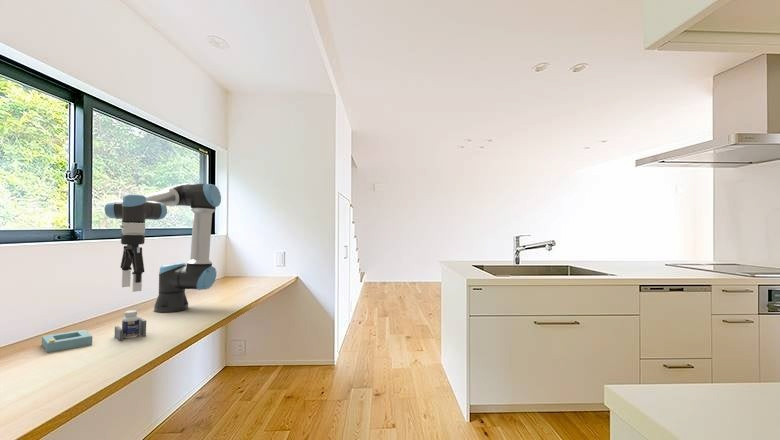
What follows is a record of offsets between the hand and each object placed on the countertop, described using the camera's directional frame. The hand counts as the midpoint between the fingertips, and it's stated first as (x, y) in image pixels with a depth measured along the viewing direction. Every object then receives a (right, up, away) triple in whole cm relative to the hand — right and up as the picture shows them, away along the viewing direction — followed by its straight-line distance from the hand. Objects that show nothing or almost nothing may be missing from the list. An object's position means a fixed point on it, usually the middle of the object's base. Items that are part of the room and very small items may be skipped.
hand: (131, 289), depth 145 cm
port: (-16, -18, -11) cm, 26 cm away
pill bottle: (0, -19, 0) cm, 19 cm away
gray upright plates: (0, -18, 0) cm, 18 cm away
